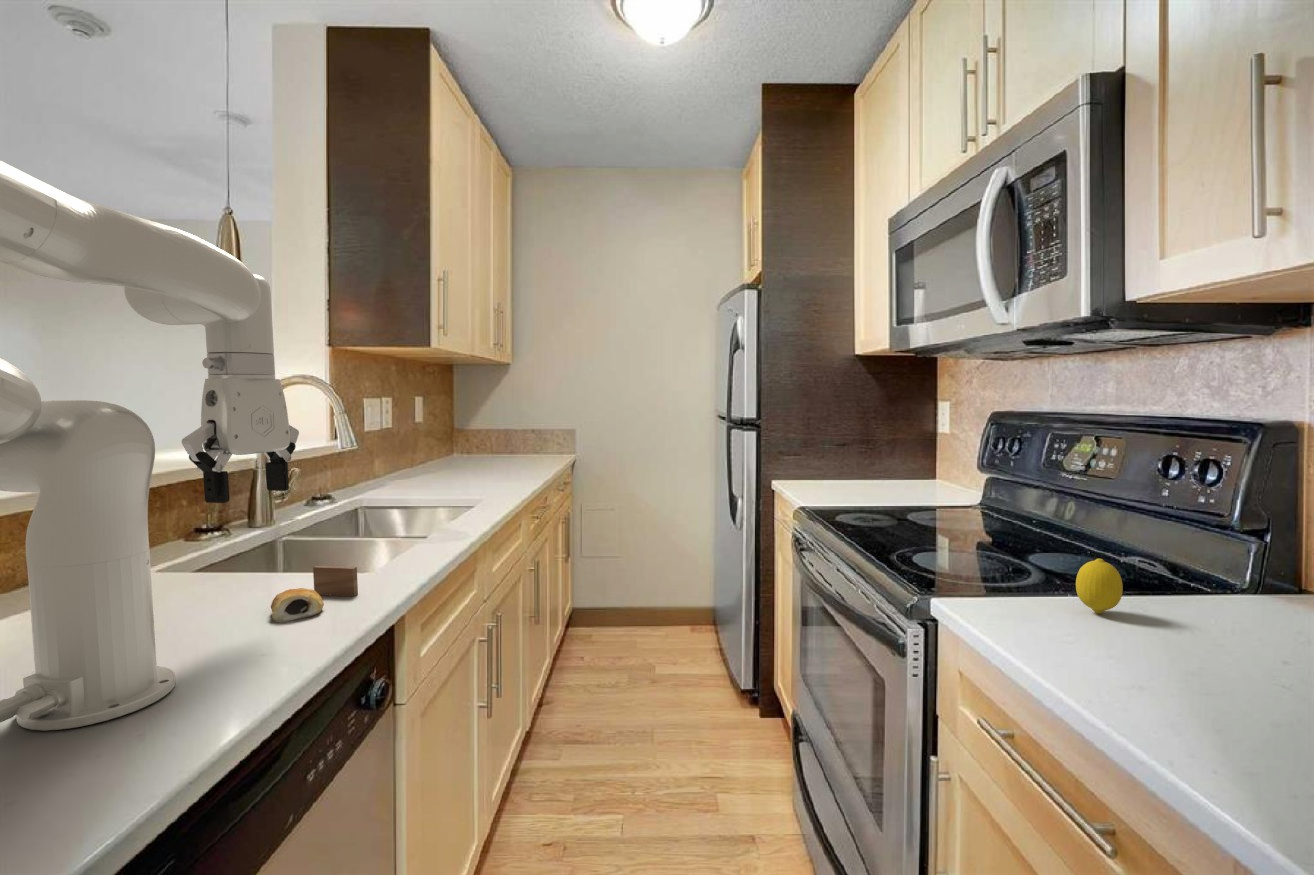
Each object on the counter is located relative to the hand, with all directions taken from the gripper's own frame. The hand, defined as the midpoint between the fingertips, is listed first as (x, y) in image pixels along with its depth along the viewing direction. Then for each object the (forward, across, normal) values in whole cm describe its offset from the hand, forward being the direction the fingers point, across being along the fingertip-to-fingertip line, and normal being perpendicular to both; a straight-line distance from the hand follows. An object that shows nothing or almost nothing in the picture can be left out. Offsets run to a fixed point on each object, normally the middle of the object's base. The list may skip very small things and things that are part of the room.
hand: (249, 496), depth 86 cm
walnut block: (+19, +16, +1) cm, 25 cm away
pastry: (+19, +8, +1) cm, 21 cm away
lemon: (+19, +30, -114) cm, 120 cm away
